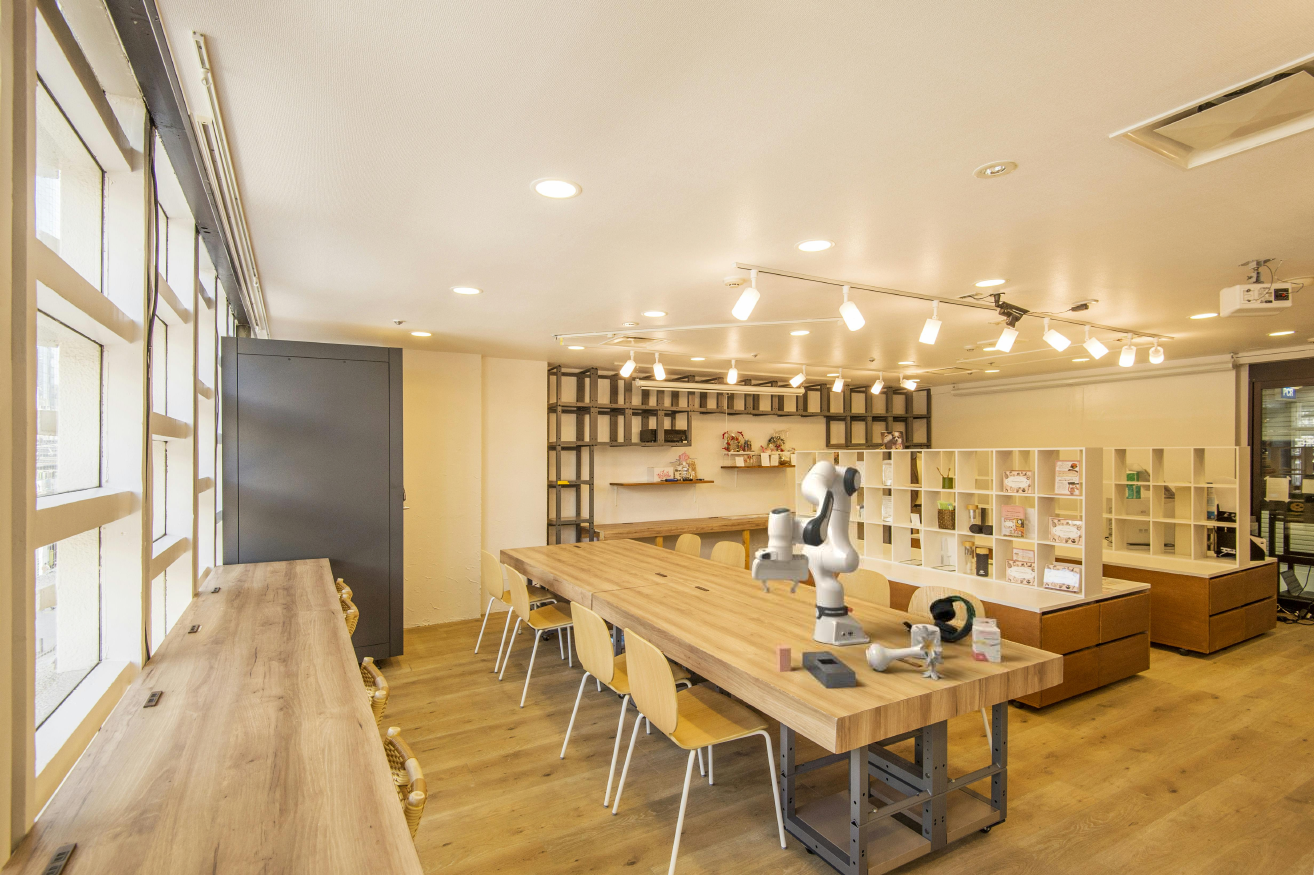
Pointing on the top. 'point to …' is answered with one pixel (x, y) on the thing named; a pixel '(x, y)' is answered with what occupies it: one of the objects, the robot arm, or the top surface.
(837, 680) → the rail
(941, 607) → the headset
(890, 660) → the flower vase
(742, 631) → the top surface
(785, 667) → the terracotta peg
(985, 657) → the ink cartridge box
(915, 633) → the photo printer
